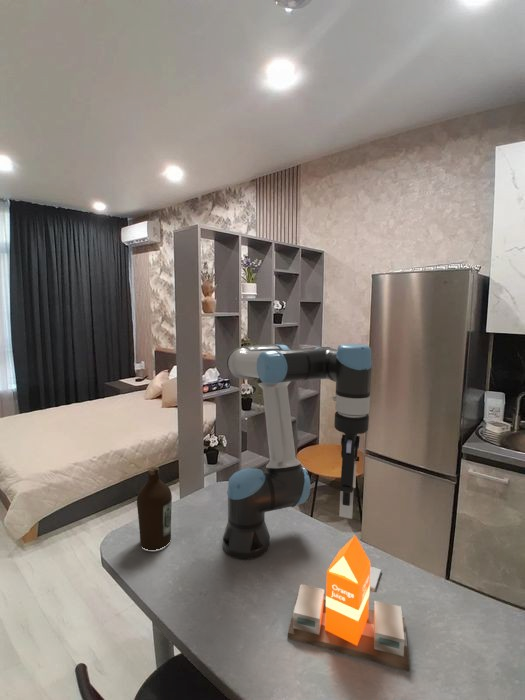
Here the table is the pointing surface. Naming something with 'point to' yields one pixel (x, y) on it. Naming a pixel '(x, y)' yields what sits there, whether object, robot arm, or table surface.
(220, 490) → the table surface
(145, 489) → the olive oil
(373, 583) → the external hard drive
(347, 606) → the orange juice
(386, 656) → the rail board
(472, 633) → the table surface
